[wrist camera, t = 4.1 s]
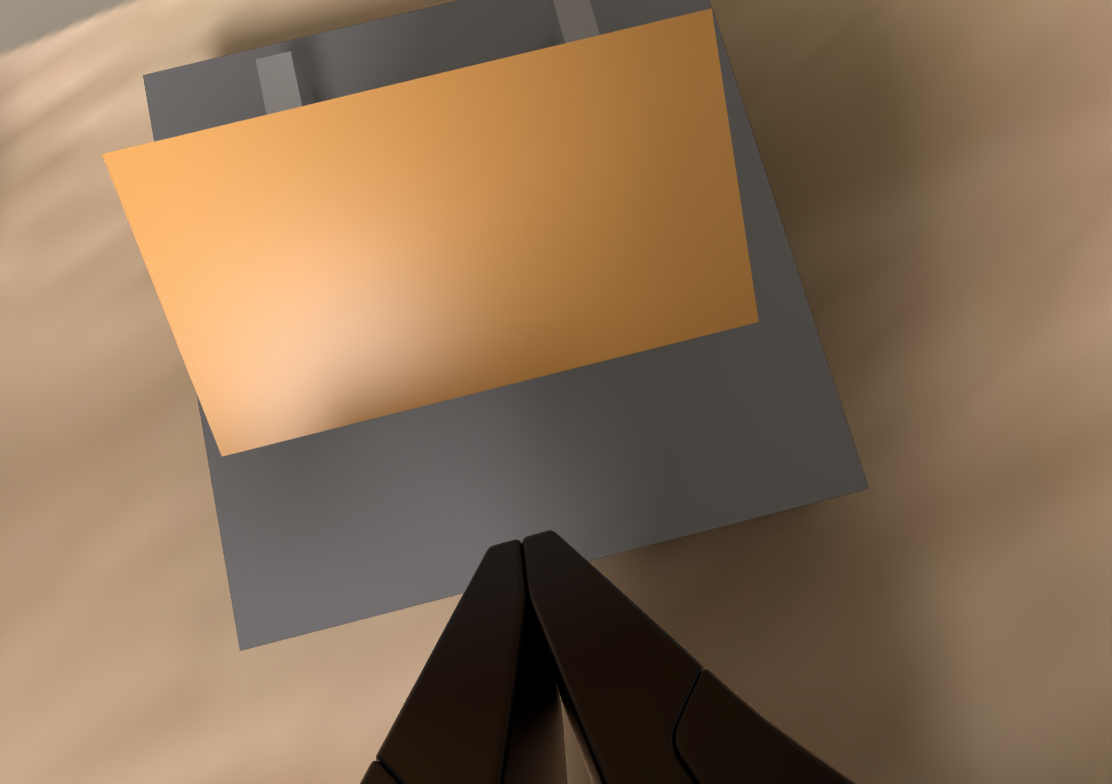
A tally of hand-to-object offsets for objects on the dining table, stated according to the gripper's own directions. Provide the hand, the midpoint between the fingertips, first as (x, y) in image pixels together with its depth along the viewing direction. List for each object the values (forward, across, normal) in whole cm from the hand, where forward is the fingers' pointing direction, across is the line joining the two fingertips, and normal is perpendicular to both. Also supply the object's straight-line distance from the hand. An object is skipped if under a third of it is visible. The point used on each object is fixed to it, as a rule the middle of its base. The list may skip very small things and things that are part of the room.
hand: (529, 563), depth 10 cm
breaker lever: (+11, 0, +1) cm, 11 cm away
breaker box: (+13, 0, -3) cm, 13 cm away
